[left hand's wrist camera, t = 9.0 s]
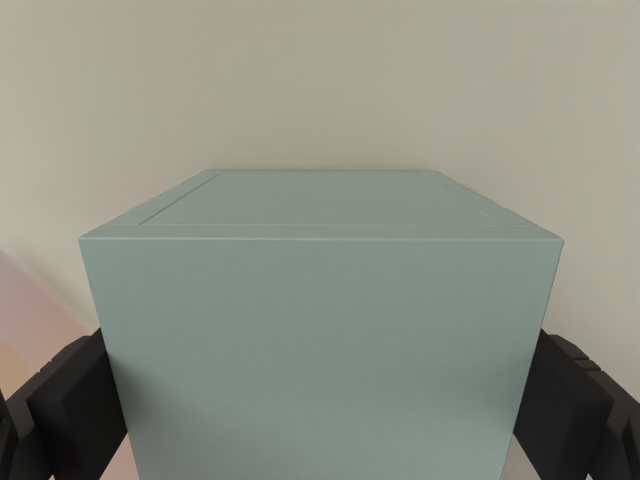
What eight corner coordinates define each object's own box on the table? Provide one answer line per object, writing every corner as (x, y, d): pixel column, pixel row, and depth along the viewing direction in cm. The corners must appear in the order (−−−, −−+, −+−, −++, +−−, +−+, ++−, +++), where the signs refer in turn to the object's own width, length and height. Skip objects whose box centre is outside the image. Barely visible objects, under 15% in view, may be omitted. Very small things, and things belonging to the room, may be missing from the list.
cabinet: (399, 484, 23) (443, 696, 15) (239, 484, 23) (194, 694, 15) (437, 170, 16) (565, 239, 8) (204, 170, 16) (76, 237, 8)
